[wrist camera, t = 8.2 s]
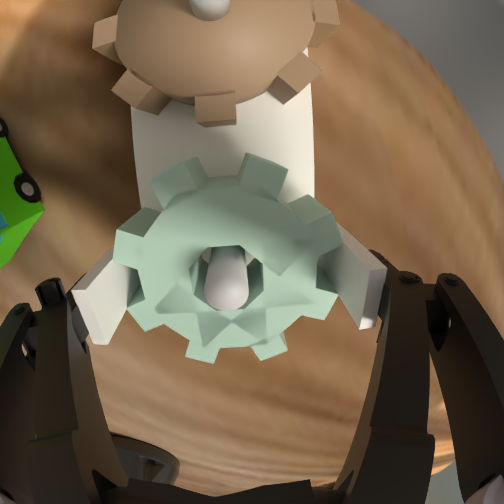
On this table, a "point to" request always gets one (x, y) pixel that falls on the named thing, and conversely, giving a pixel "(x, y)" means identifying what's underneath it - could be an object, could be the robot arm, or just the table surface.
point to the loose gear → (227, 234)
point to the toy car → (15, 201)
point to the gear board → (219, 97)
